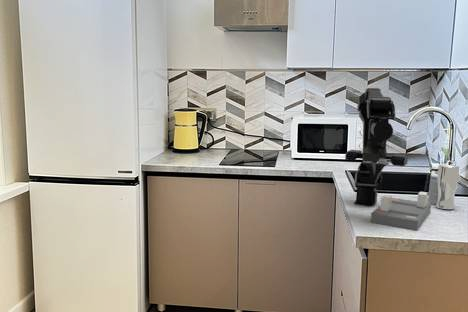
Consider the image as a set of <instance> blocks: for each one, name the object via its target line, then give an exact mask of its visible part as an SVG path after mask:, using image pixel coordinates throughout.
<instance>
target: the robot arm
mask: <svg viewBox="0 0 468 312" xmlns="http://www.w3.org/2000/svg"><path fill="white" fill-rule="evenodd" d="M356 107H357V108H356V109H357V111H358V117H359V119H360V120H361V122H362V150H359V149H350V150H348V151H346V153H345V156H344V157H345V158H344V160H346V161H353V162H354V161H356V160H357V159H359V160H361V159H362V160H361V162H360V164H359V165H358V167H357V170H356V172H355V175H354V183H353V184H354V188H356V197H355V198H356V199H355V201H354V202H353V203H354V204H356V205H364V206H367V207H368V206H370V207H372V206H374V205H375V204H376V203H377V201H378V191H377V189H378V190H380V188H381V187H382V186H381V185H382V179H383V175H382V173H381V172H382V171H383V170H384V169H385V167H387V166H389V165H390V163H391V165H392V166H396V167H398V166H399V167H404V166H406V165H408V159H409V157H408V155H406V154H398V153H395V154H393V155H387V142H388V140H389V139H390V138H391V137H392V136H393V134H394V128H393V126H392V124H391V123H389V121H391V120H392V121H395V120H394V119H395V118H396V108H395V104H394V101H393V100H392V98H391V97H390V96H384V95H383V94H382V90H381V88H374V87H372V88H371V87H368V88H365V91H364V92H363V93H362V94H360V95H359V97H358V101H357V106H356Z"/></svg>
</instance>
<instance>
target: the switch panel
mask: <svg viewBox="0 0 468 312" xmlns="http://www.w3.org/2000/svg"><path fill="white" fill-rule="evenodd" d="M417 201H418V200H409V199H403V198H402V199H401V198H397V197H396V198H395V197H392V201H391V209H390V210H389V211H388V212H386V211H380V208H381V204H380V205H379V206H378V207H377V208H376V209H374V211H372V212H371V213H370V214H371V216H370V223H372V222H373V224H379V225H385V226H390V227H395V228H396V227H397V228H401V229H407V230H413V231H418V230H419V229H420V227H421V226H422V224H423V223H424V221H425V220H426V218H427V217H428V216H429V215H430V213H431V210H432V209H431V208H432V204H431V203H428V202H427V205H426V207H425V208H422V207H417Z"/></svg>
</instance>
